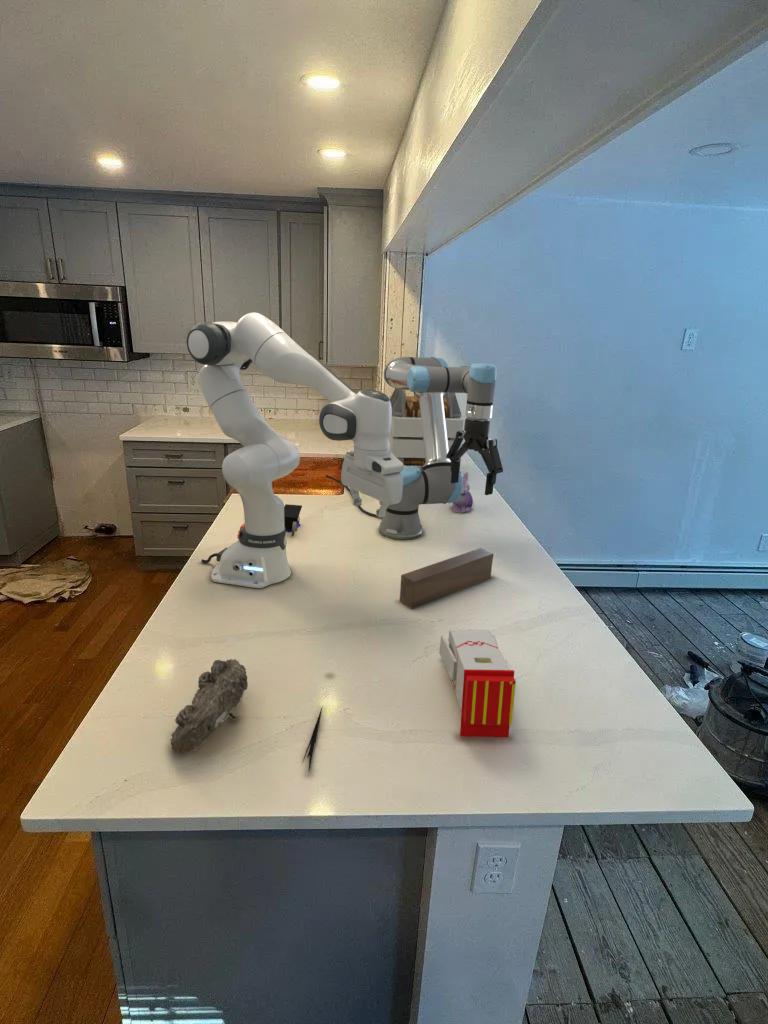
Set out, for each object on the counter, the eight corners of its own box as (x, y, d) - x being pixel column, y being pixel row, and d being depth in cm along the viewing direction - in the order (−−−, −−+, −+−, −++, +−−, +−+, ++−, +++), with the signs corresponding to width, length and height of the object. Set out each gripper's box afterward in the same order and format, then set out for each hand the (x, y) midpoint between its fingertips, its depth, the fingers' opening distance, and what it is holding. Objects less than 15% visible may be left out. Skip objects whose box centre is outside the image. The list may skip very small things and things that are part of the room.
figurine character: (298, 542, 192) (303, 521, 206) (297, 522, 189) (302, 503, 202) (278, 541, 192) (284, 521, 205) (277, 521, 189) (283, 502, 202)
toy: (489, 613, 130) (525, 677, 101) (485, 667, 133) (518, 744, 104) (437, 612, 130) (457, 676, 101) (434, 666, 133) (453, 743, 103)
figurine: (459, 514, 221) (463, 477, 216) (445, 506, 229) (448, 470, 224) (479, 511, 225) (483, 475, 220) (464, 503, 234) (467, 468, 228)
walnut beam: (399, 601, 154) (401, 574, 151) (477, 571, 174) (480, 547, 171) (412, 609, 150) (413, 582, 148) (490, 577, 170) (493, 553, 167)
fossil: (195, 660, 117) (247, 628, 112) (227, 691, 120) (279, 661, 115) (146, 746, 98) (206, 711, 93) (185, 779, 101) (245, 748, 96)
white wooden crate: (381, 463, 289) (385, 382, 275) (444, 464, 292) (450, 384, 279) (389, 482, 257) (393, 392, 243) (459, 483, 261) (467, 394, 247)
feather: (331, 679, 122) (336, 673, 122) (307, 777, 96) (313, 769, 95) (324, 675, 122) (329, 669, 121) (298, 772, 95) (304, 764, 95)
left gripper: (336, 450, 144) (334, 501, 149) (388, 469, 130) (385, 525, 135) (355, 447, 148) (353, 497, 153) (408, 466, 134) (404, 520, 139)
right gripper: (438, 412, 171) (433, 479, 178) (504, 427, 153) (495, 501, 161) (455, 410, 176) (449, 476, 183) (521, 425, 158) (511, 497, 165)
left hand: (368, 510), depth 144 cm, fingers open, 8 cm apart
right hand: (471, 488), depth 172 cm, fingers open, 13 cm apart
